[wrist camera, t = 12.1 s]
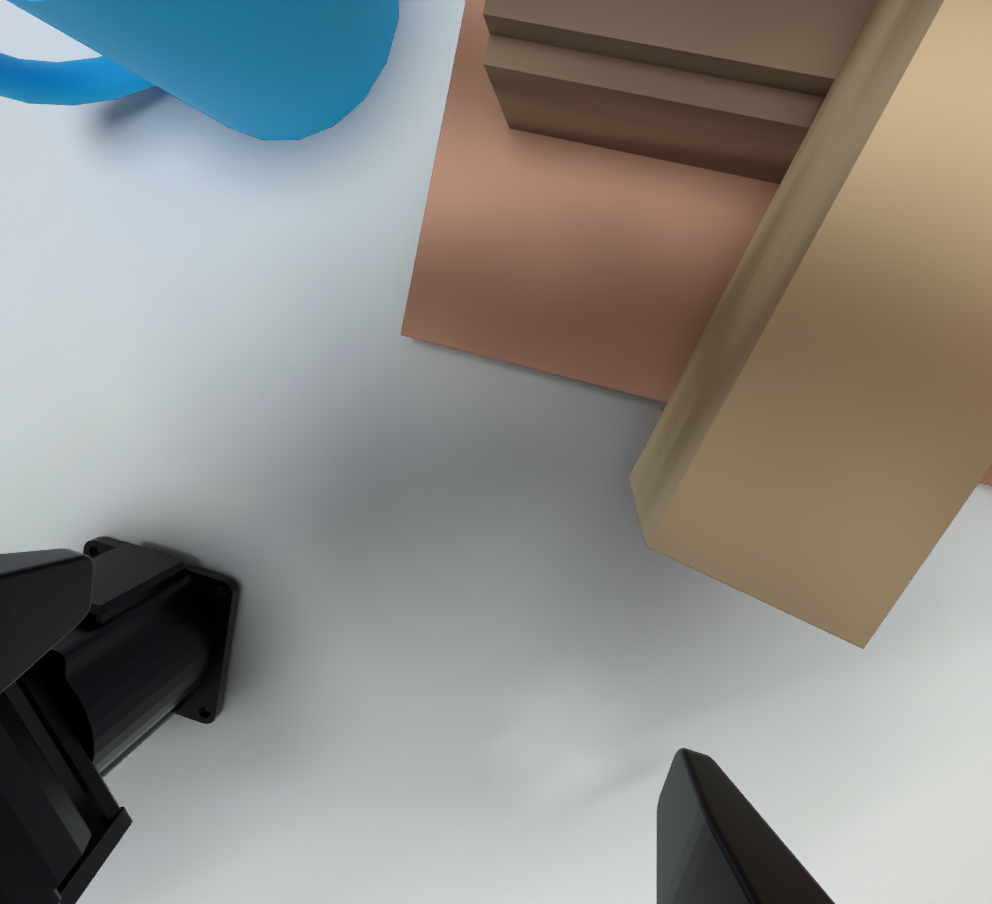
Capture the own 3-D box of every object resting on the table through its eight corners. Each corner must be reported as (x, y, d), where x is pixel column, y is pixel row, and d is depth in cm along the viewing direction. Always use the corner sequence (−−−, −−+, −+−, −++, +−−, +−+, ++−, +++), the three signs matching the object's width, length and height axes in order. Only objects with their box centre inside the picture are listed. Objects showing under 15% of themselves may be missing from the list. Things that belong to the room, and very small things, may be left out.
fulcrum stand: (1112, 513, 17) (1382, 604, 11) (412, 335, 19) (334, 333, 14) (1443, -123, 13) (2104, -481, 7) (527, -243, 16) (489, -582, 10)
